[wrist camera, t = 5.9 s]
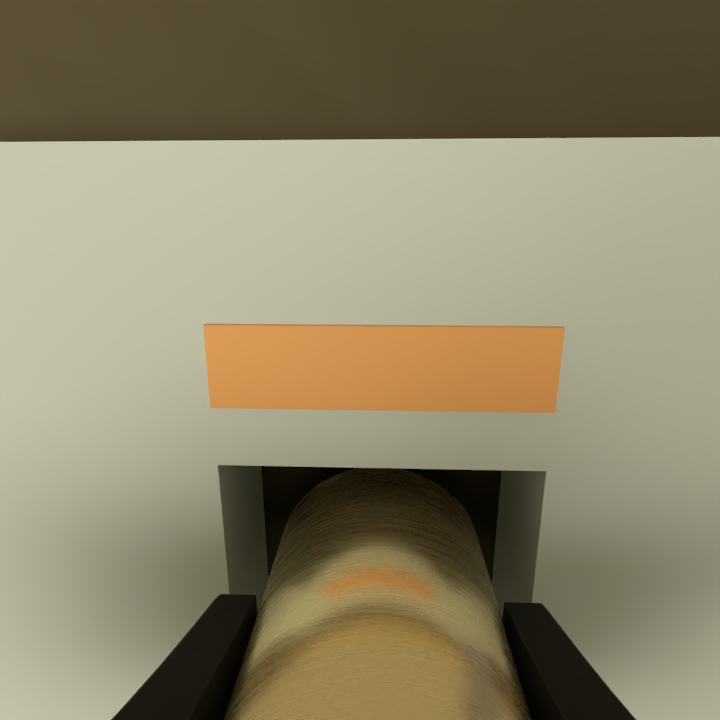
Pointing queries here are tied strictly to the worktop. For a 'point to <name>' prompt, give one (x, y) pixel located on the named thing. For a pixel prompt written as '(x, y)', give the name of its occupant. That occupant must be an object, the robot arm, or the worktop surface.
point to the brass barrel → (378, 612)
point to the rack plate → (356, 384)
